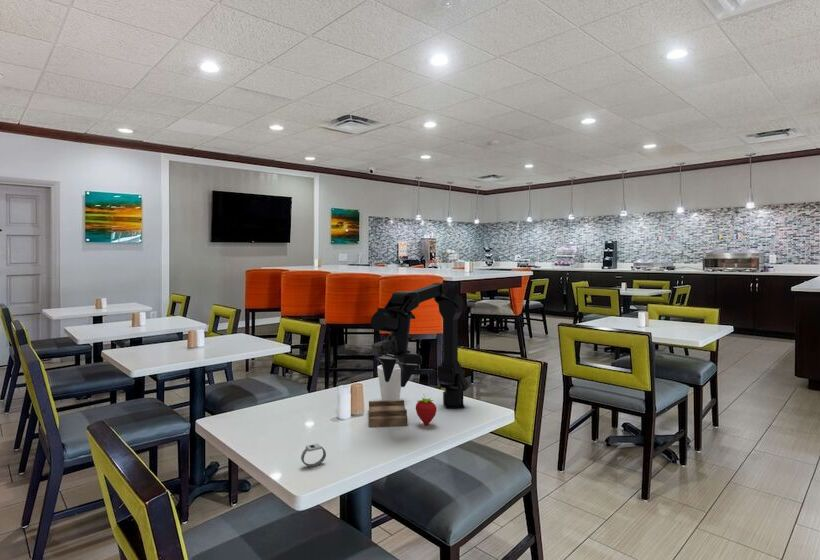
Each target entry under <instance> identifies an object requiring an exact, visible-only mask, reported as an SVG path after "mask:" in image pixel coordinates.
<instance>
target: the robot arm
mask: <svg viewBox="0 0 820 560" xmlns="http://www.w3.org/2000/svg"><path fill="white" fill-rule="evenodd" d="M391 294H392V295H391V297H390V298H389V300H388V301H387V302H386V305H385V306H384V307H377V311H376V312H374V313H373V316H372V317H371V320H370V325H371V327H372V329H373V330H374V331H376V332H386V333H387V332H388V333H390V334H387V335H386V338H385V339H384V340H381V341H378V342H374V343H371V351H372V354H373V356H374V357H376V360H377V361H378V362H379V363H380V365H382V367H383V372H384V378H385V382H389V380H390V377H391V375H392V372H393V369H394V366H395V364H398V365H399V367H400V368H401V388H405V387H406V385H407V383H408V382H409V381H410V378H411V377H412V375H413V373H414V372H415V371H416V369H417V368H418V367H419V365H423V357H422V355H421V354H419V353H413V352H411V350H409V341H410V342H411V341H412V340H413V339H412V337H411V336H410V330H411V322H412V321H411V320H415V319H416V316H415V315H414V313H413V312H412V311H414V310H416V309H417V308H418V307H419V306H420V304H421V303H423V302H426V301H429V300H431V299H433V301H434V302H435V303H437V305H438V312H439V314H440V315H441V317H442V320H443V351H442V352H443V356H442V357H443V360H442V362H441V364H440V365H438V366H437V375H436V376H437V378H438V383H439V386H440V388H441V389H444V391H442V403H443V405H444V407H445V408H446V409H464V408H465V404H464V392H465V391H466V390H467V389H468V386H469V382H468V381H467V379H466V378H465V377H464V374H463V367H462V366H461V364H460V362H459V359H458V358H459V352H458V351H459V348H458V347H459V345H458V344H459V342H458V341H459V339H458V338H459V333H458V332H459V331H458V330H459V318H460V317H461V315H462V313H463V308H464V298H463V297H462V296H461V295H460V294H459V292H457V291H456V290H454V289H452V288H450V287H449V286H448V285H447V284H446V283H444V282H433V283H431V284H429V285H426V286H423V287H420V288H417V289H414V290H406V291H405V290H404V291H403V290H402V291H401V290H400V291H394V292H392V293H391ZM397 359H398V360H397ZM397 361H398V362H397Z"/></svg>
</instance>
